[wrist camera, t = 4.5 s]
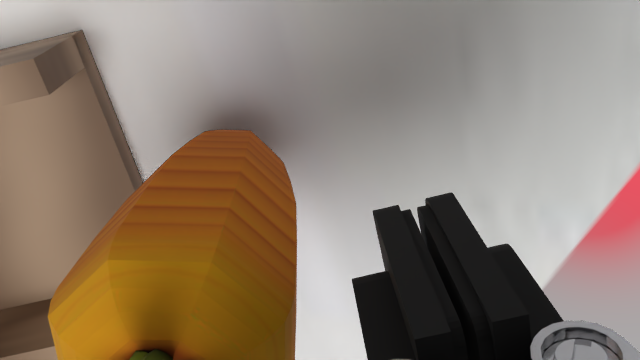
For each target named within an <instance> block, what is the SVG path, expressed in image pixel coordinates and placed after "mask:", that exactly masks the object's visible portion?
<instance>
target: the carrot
mask: <svg viewBox="0 0 640 360" xmlns="http://www.w3.org/2000/svg"><path fill="white" fill-rule="evenodd" d="M296 278H297V227H296V201H295V197H294V193H293V189H292V186H291V182H290V179H289V176H288V173H287V171H286V168H285V165H284V163H283V162H282V161H281V160H280V158H279V157H278V156H277V155H276V154H275V153H274V152H273V151H272V150H271V149H270V148H269V147H268V146H267V145H266V144H265V143H263V142H262V141H261V140H260V139H259V138H258V137H257V136H256V135H255V134H254V133H253V132H252V131H251V130H212V131H205V132H203V133H202V134H200V135H198V136H197V137H195V138H194V139H192V140H190V141H189V142H188V143H186V144H185V145H184V146H183V147H181V148H180V149H179V150H178V151H176V152H175V153H174V154H173V155H171V156H170V157H169V158H168V159H167V160H166V161H165V162H164V163H163V164H162V165H161V166H160V167H159V168H158V169H157V170H156V171H155V172H154V173H153V174H152V175H151V176H150V177H149V178H148V179H147V180H146V181H145V182H144V183H143V184H142V185H141V186H140V187H139V188H138V189H137V190H136V191H135V192H134V193H133V194H132V195H131V196H130V197H129V198H128V199H127V200H126V201H125V202H124V203H123V204H122V206H121V207H120V208H119V209H118V211H117V212H116V213H115V214H114V215H113V217H112V218H111V219H110V220H109V221H108V223H107V224H106V225H105V226H104V227H103V229H102V230H101V231H100V232H99V233H98V235H97V236H96V237H95V238H94V240H93V241H92V242H91V244H90V245H89V246H88V248H87V249H86V250H85V252H84V253H83V254H82V256H81V257H80V258H79V260H78V261H77V262H76V264H75V265H74V266H73V268H72V269H71V270H70V272H69V273H68V274H67V276H66V277H65V278H64V279H63V281H62V282H61V283H60V285H59V286H58V288H57V290H56V291H55V293H54V295H53V297H52V299H51V302H50V307H49V313H48V320H49V324H50V328H51V332H52V337H53V341H54V345H55V349H56V354H57V358H58V360H295V333H296Z"/></svg>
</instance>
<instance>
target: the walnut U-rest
mask: <svg viewBox="0 0 640 360" xmlns="http://www.w3.org/2000/svg"><path fill="white" fill-rule="evenodd" d="M142 184H143V182H142V180H141V177H140V175H139V172H138V170H137V167H136V165H135V162H134V159H133V157H132V154H131V152H130V149H129V147H128V144H127V142H126V139H125V137H124V134H123V132H122V129H121V127H120V124H119V122H118V119H117V117H116V114H115V112H114V109H113V107H112V104H111V102H110V99H109V97H108V94H107V92H106V89H105V87H104V84H103V82H102V79H101V77H100V74H99V72H98V69H97V67H96V64H95V62H94V59H93V57H92V54H91V52H90V49H89V46H88V44H87V41H86V39H85V36H84V34H83V31H82V30H80V31H76V32H72V33H68V34H64V35H60V36H56V37H51V38H47V39H43V40H39V41H35V42H31V43H26V44H22V45H18V46H14V47H10V48H6V49H1V50H0V360H58V358H57V354H56V349H55V345H54V341H53V337H52V332H51V328H50V324H49V320H48V313H49V307H50V302H51V299H52V297H53V295H54V293H55V291H56V290H57V288H58V286H59V285H60V283H61V282H62V281H63V279H64V278H65V277H66V276H67V274H68V273H69V272H70V270H71V269H72V268H73V266H74V265H75V264H76V262H77V261H78V260H79V258H80V257H81V256H82V254H83V253H84V252H85V250H86V249H87V248H88V246H89V245H90V244H91V242H92V241H93V240H94V238H95V237H96V236H97V235H98V233H99V232H100V231H101V230H102V229H103V227H104V226H105V225H106V224H107V223H108V221H109V220H110V219H111V218H112V217H113V215H114V214H115V213H116V212H117V211H118V209H119V208H120V207H121V206H122V204H123V203H124V202H125V201H126V200H127V199H128V198H129V197H130V196H131V195H132V194H133V193H134V192H135V191H136V190H137V189H138V188H139V187H140V186H141V185H142Z"/></svg>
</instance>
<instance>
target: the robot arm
mask: <svg viewBox="0 0 640 360" xmlns="http://www.w3.org/2000/svg"><path fill="white" fill-rule="evenodd" d="M425 203H426V206H421V207H418V208H417V211H418V218H419V223H420V229H421V233H420V230H419V228H418V226H417V224H416V221H415V219H414V217H413V215H412V213H411V210H410V209H408V210H404V211H401V210H400V208H399V206H398V205H396V206H391V207H387V208H383V209H378V210H374V211H373V215H374V220H375V225H376V230H377V234H378V239H379V244H380V248H381V253H382V258H383V262H384V267H385V271H384V272H380V273H376V274H371V275H367V276H363V277H358V278H354V279H352V283H353V288H354V293H355V298H356V303H357V308H358V313H359V318H360V323H361V328H362V333H363V338H364V343H365V348H366V353H367V358H368V360H640V352H639V351H638V350H637V349H636V348H635V347H633V346H632V345H631V344H630V343H629V342H628V341H627V340H626V339H625V338H624V337H622V336H621V335H619V334H617V333H616V332H615V331H613V330H612V329H610V328H607V327H605V326H602V325H600V324H597V323H592V322H586V321H563V320H562V318H561V317H560V315H559V314H558V312H557V311H556V310H555V308H554V307H553V305H552V304H551V303H550V301H549V300H548V298H547V297H546V295H545V294H544V292H543V291H542V290H541V288H540V287H539V285H538V284H537V283H536V281H535V280H534V278H533V277H532V275H531V274H530V273H529V271H528V270H527V268H526V267H525V266H524V264H523V263H522V261H521V260H520V258H519V257H518V256H517V254H516V253H515V251H514V250H513V249H512V247H511V246H510V245H509V244H502V245H498V246H493V247H489V248H487V247H486V245H485V243H484V242H483V240H482V239H481V237H480V236H479V234H478V232H477V231H476V229H475V228H474V226H473V224H472V223H471V221H470V220H469V218H468V216H467V215H466V213H465V212H464V210H463V209H462V207H461V205H460V204H459V202H458V201H457V199H456V197H455V196H454V194H453V193H447V194H443V195H438V196H434V197H430V198H426V200H425Z"/></svg>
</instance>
